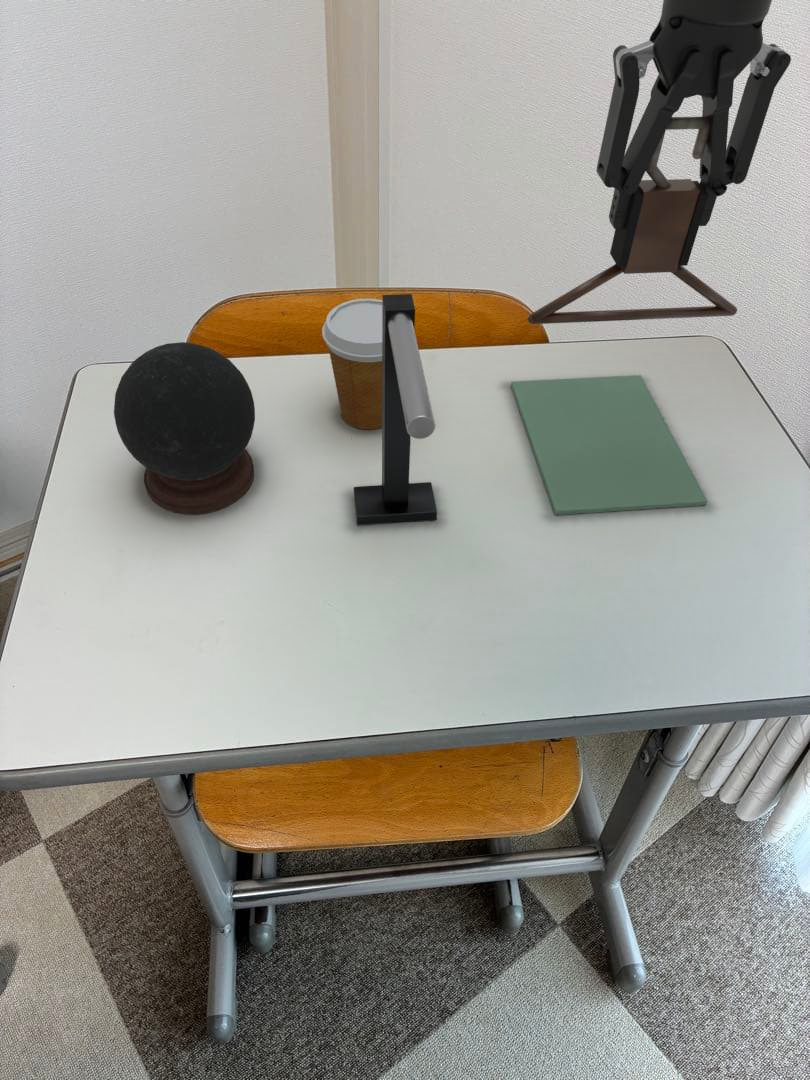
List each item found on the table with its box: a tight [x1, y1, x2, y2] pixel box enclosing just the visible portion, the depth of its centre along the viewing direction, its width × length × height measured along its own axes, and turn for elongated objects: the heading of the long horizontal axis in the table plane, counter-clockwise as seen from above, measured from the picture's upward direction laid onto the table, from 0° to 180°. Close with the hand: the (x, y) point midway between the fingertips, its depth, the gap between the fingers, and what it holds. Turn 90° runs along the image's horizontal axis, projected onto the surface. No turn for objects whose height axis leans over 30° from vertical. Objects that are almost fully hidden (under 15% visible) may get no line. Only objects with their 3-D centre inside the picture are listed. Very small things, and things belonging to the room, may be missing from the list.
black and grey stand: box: [353, 293, 438, 526], centre depth 68 cm, size 8×17×23 cm, turn 7°
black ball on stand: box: [113, 341, 256, 515], centre depth 78 cm, size 13×13×15 cm
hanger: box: [527, 116, 738, 325], centre depth 71 cm, size 21×2×18 cm, turn 97°
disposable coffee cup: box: [321, 298, 382, 430], centre depth 87 cm, size 10×10×12 cm
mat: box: [510, 374, 708, 516], centre depth 89 cm, size 22×16×1 cm
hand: (648, 258), depth 73 cm, fingers closed on hanger, 5 cm apart
